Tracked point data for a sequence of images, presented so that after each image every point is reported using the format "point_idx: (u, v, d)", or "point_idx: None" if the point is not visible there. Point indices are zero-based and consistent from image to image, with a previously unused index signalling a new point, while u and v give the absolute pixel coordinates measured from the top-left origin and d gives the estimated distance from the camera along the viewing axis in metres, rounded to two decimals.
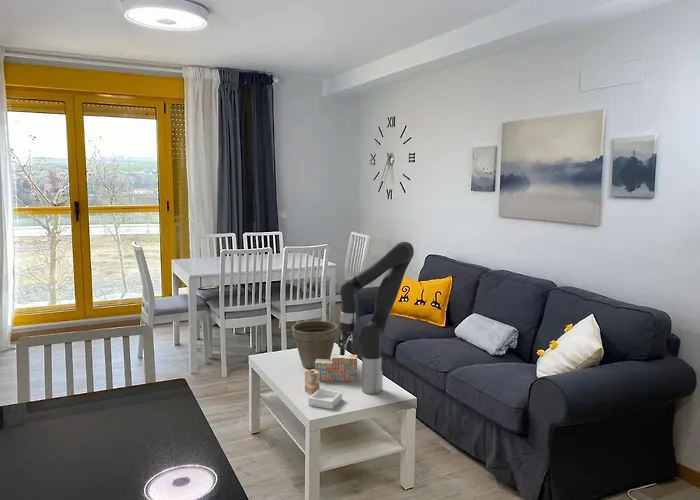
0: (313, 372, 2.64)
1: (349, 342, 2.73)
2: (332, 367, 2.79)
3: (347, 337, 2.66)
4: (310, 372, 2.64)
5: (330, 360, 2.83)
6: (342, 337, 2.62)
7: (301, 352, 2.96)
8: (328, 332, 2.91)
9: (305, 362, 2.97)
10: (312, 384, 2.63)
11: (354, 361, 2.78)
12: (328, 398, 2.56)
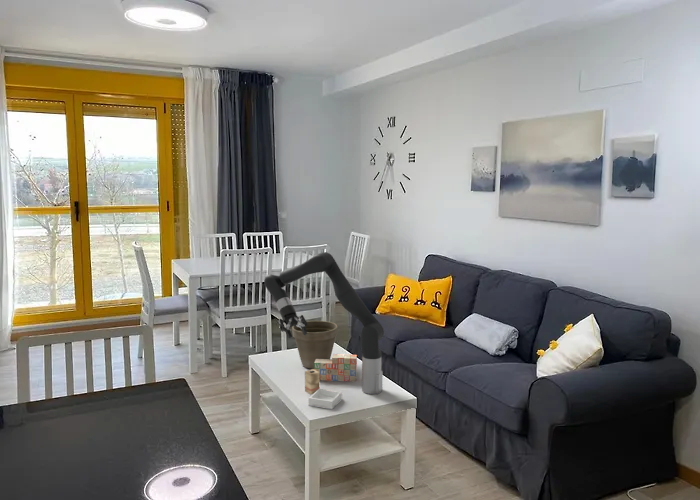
0: (313, 372, 2.64)
1: (302, 327, 2.76)
2: (332, 367, 2.80)
3: (288, 320, 2.73)
4: (310, 372, 2.64)
5: (330, 360, 2.83)
6: (279, 320, 2.72)
7: (301, 352, 2.96)
8: (328, 332, 2.91)
9: (305, 362, 2.97)
10: (312, 384, 2.63)
11: (354, 361, 2.78)
12: (328, 398, 2.56)
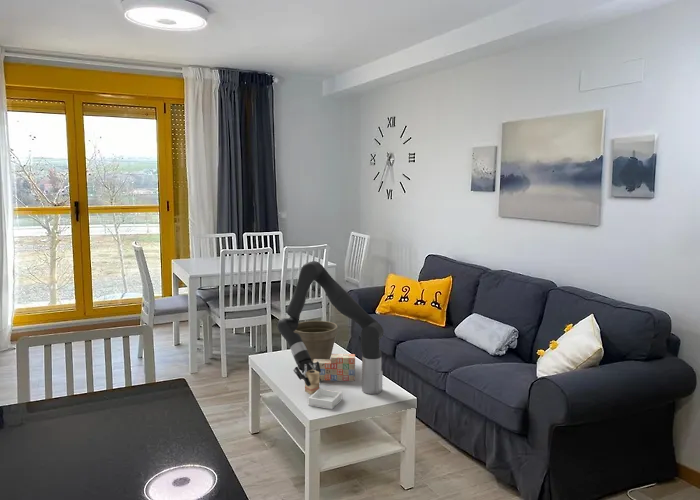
0: (313, 372, 2.64)
1: None
2: (330, 367, 2.80)
3: (304, 367, 2.66)
4: (310, 372, 2.64)
5: (328, 360, 2.84)
6: (295, 369, 2.64)
7: None
8: (328, 332, 2.91)
9: None
10: (312, 384, 2.63)
11: (352, 360, 2.79)
12: (328, 398, 2.56)
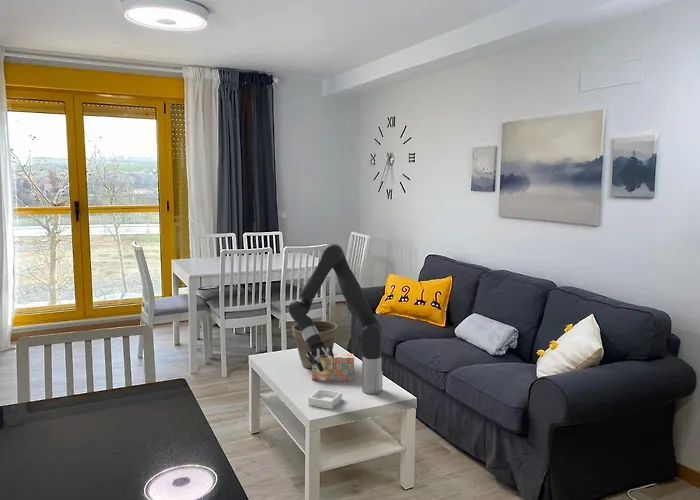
0: (326, 357, 2.50)
1: None
2: None
3: (316, 351, 2.53)
4: (323, 357, 2.50)
5: None
6: (307, 354, 2.51)
7: (301, 352, 2.96)
8: (328, 332, 2.91)
9: (305, 362, 2.97)
10: (324, 369, 2.49)
11: (352, 360, 2.79)
12: (328, 398, 2.56)
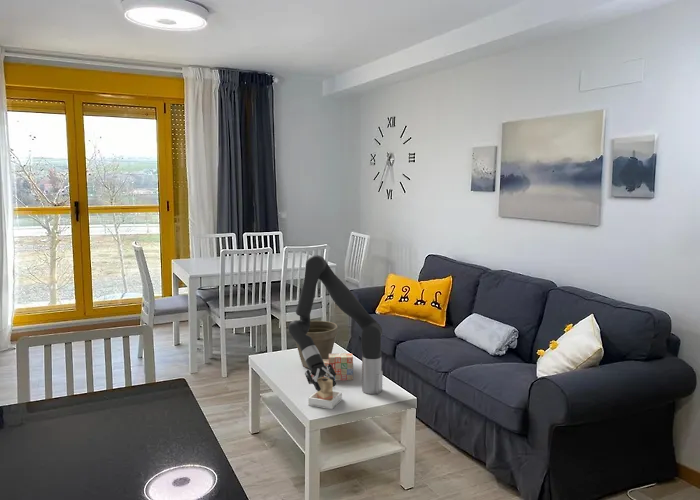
0: (326, 380, 2.51)
1: (330, 378, 2.56)
2: None
3: (316, 371, 2.53)
4: (323, 380, 2.51)
5: (326, 360, 2.84)
6: (306, 372, 2.52)
7: (301, 352, 2.96)
8: (328, 332, 2.91)
9: (305, 362, 2.97)
10: (324, 392, 2.50)
11: (351, 360, 2.80)
12: None
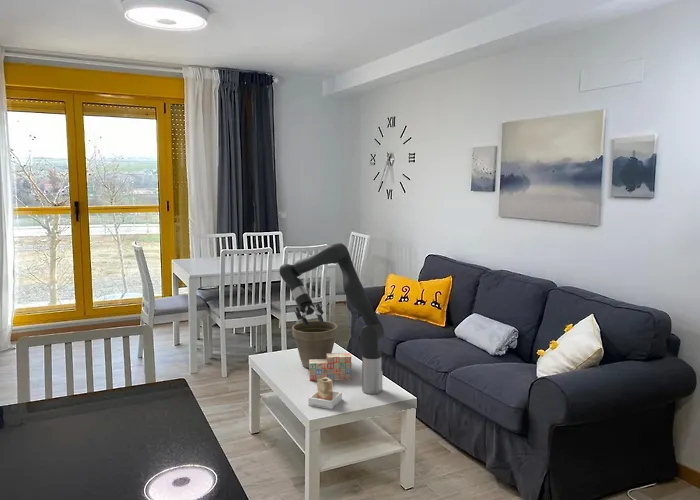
0: (326, 380, 2.51)
1: (318, 315, 2.76)
2: (327, 367, 2.80)
3: (304, 308, 2.73)
4: (323, 380, 2.51)
5: (324, 360, 2.84)
6: (295, 309, 2.71)
7: (301, 352, 2.96)
8: (328, 332, 2.91)
9: (305, 362, 2.97)
10: (324, 392, 2.50)
11: (349, 359, 2.81)
12: None
